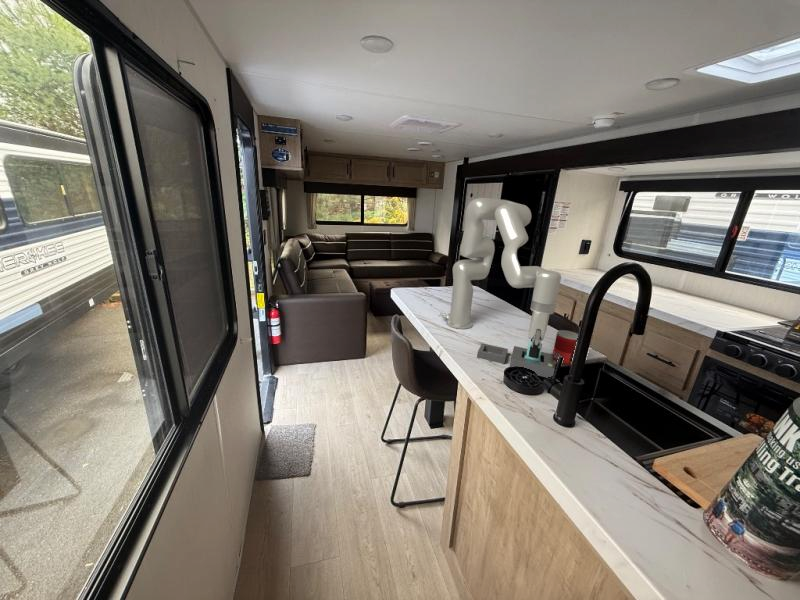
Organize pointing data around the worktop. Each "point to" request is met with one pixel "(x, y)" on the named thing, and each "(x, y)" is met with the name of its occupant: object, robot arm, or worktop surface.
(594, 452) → the worktop surface
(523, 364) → the port
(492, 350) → the holster
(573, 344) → the canned food
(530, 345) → the plug
